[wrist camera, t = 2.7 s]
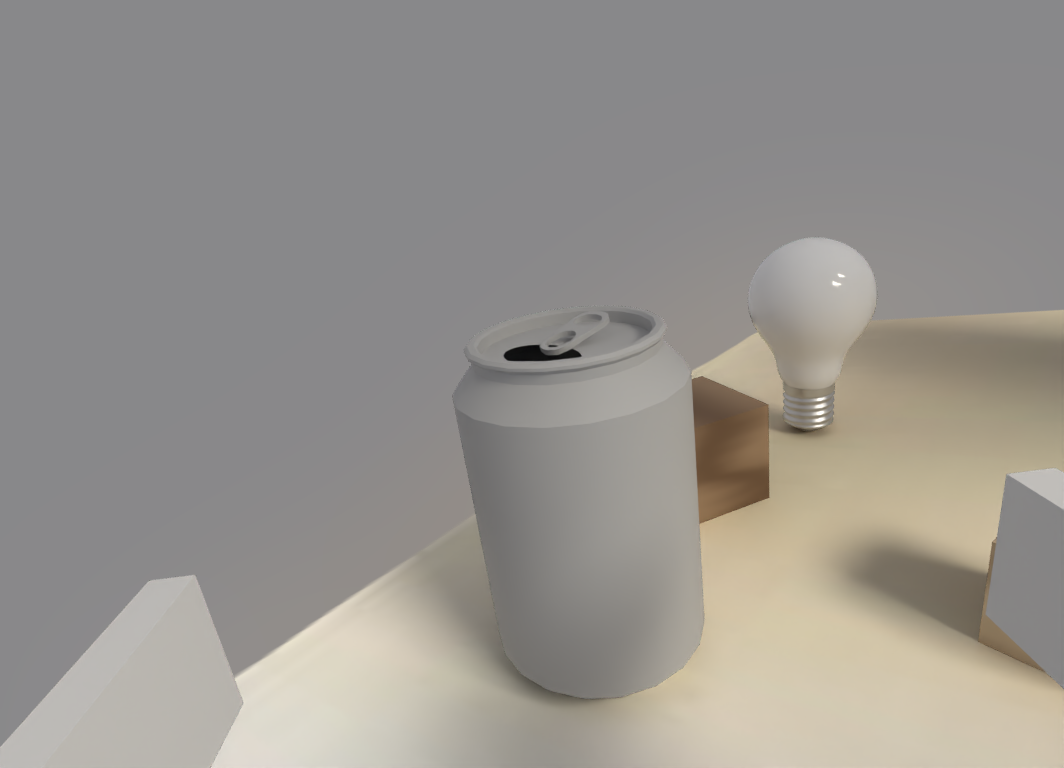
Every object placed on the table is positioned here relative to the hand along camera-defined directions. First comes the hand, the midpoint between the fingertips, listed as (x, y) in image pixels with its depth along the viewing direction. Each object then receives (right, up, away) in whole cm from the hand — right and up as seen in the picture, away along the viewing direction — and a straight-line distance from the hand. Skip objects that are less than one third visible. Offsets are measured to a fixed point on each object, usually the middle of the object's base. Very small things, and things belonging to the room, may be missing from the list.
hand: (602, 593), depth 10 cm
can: (+1, -6, +13) cm, 14 cm away
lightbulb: (+15, +1, +26) cm, 30 cm away
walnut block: (+7, -2, +21) cm, 22 cm away
